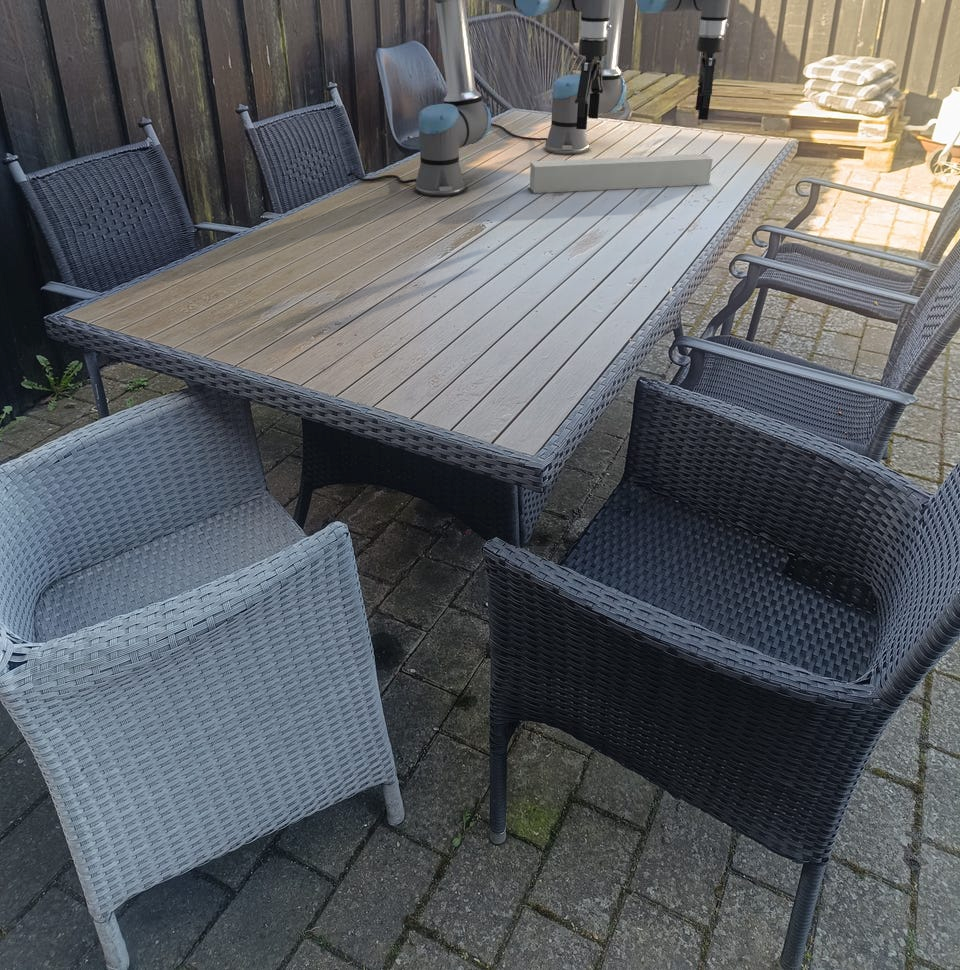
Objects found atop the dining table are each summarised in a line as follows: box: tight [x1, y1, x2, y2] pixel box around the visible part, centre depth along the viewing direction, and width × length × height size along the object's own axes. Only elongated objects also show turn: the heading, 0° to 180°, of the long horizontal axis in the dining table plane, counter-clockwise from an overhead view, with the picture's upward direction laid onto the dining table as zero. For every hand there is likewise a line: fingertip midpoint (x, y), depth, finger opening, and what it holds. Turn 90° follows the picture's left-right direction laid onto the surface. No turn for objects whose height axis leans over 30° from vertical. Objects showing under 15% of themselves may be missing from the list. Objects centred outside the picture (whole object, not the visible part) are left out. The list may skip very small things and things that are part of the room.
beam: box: [529, 153, 714, 194], centre depth 259 cm, size 56×6×8 cm, turn 99°
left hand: (587, 123), depth 236 cm, fingers open, 13 cm apart
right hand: (701, 114), depth 257 cm, fingers open, 13 cm apart
